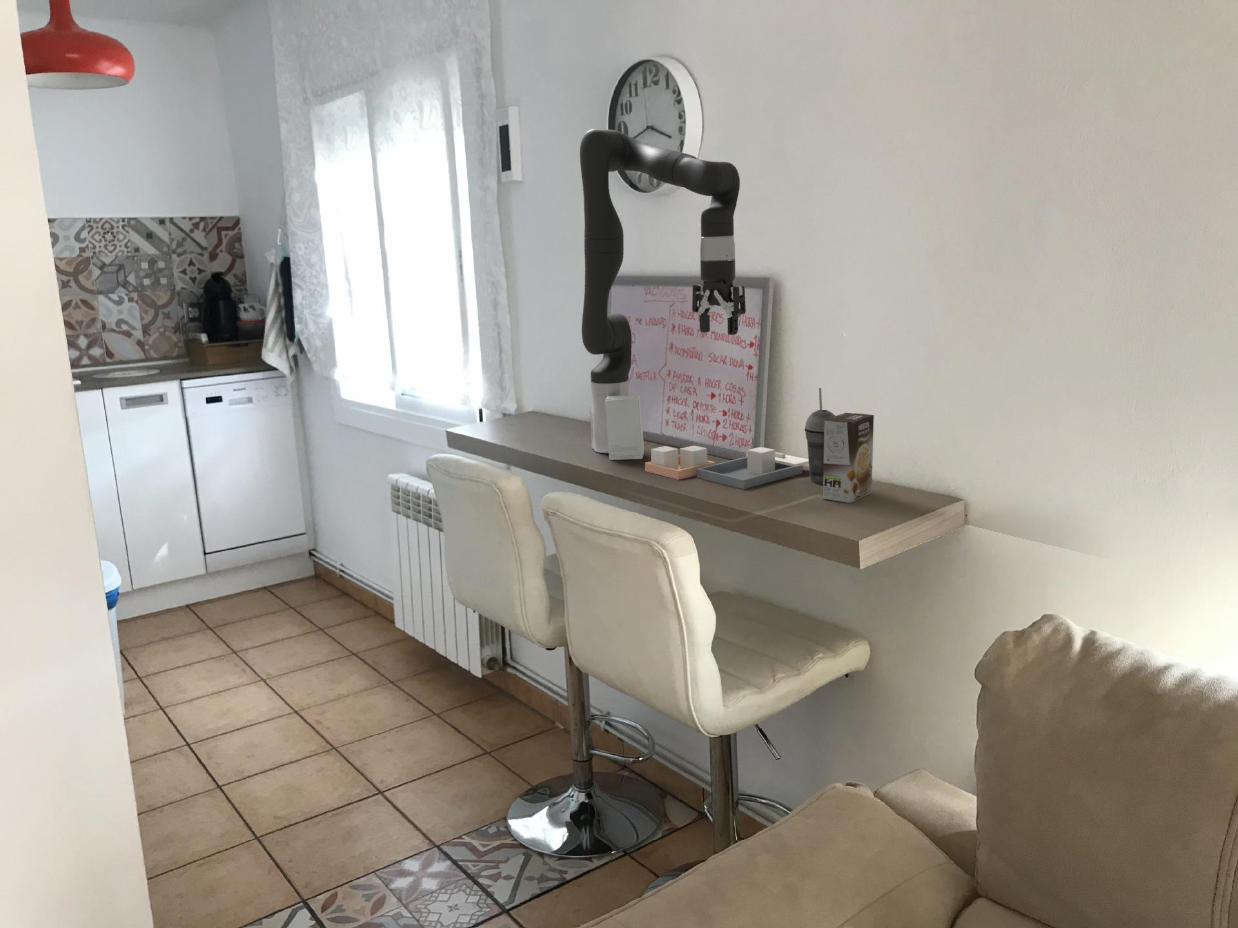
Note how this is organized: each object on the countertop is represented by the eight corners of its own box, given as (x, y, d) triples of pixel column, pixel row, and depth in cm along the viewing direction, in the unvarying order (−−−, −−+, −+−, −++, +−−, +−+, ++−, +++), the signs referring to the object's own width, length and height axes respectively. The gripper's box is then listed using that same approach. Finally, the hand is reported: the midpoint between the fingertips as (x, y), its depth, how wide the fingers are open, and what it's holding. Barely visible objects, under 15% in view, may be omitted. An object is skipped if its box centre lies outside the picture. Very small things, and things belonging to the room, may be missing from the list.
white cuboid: (680, 470, 219) (680, 448, 218) (694, 467, 222) (694, 445, 220) (693, 473, 216) (692, 451, 215) (707, 470, 218) (707, 448, 217)
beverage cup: (813, 489, 202) (814, 392, 197) (798, 481, 209) (798, 387, 204) (845, 485, 204) (847, 390, 199) (829, 477, 211) (830, 384, 206)
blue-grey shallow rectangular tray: (695, 479, 213) (695, 462, 212) (762, 463, 225) (762, 446, 225) (744, 492, 202) (744, 473, 201) (811, 473, 214) (811, 456, 213)
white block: (651, 471, 220) (650, 449, 218) (665, 467, 222) (665, 446, 221) (664, 474, 216) (663, 452, 215) (678, 470, 219) (677, 448, 218)
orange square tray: (645, 473, 220) (644, 462, 219) (681, 465, 227) (681, 454, 226) (678, 482, 212) (678, 471, 211) (715, 473, 218) (715, 462, 218)
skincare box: (644, 454, 239) (642, 393, 235) (642, 460, 233) (640, 398, 229) (609, 454, 239) (607, 394, 236) (607, 460, 234) (604, 398, 230)
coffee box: (851, 503, 191) (853, 422, 187) (822, 499, 195) (822, 419, 191) (872, 493, 198) (874, 414, 194) (843, 488, 202) (844, 411, 198)
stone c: (747, 472, 215) (747, 450, 214) (760, 469, 218) (760, 446, 217) (761, 475, 212) (761, 453, 211) (774, 472, 215) (775, 449, 213)
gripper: (682, 259, 216) (684, 333, 220) (728, 259, 205) (729, 337, 209) (707, 257, 221) (708, 330, 224) (753, 257, 210) (754, 333, 214)
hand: (718, 333), depth 217 cm, fingers open, 8 cm apart
